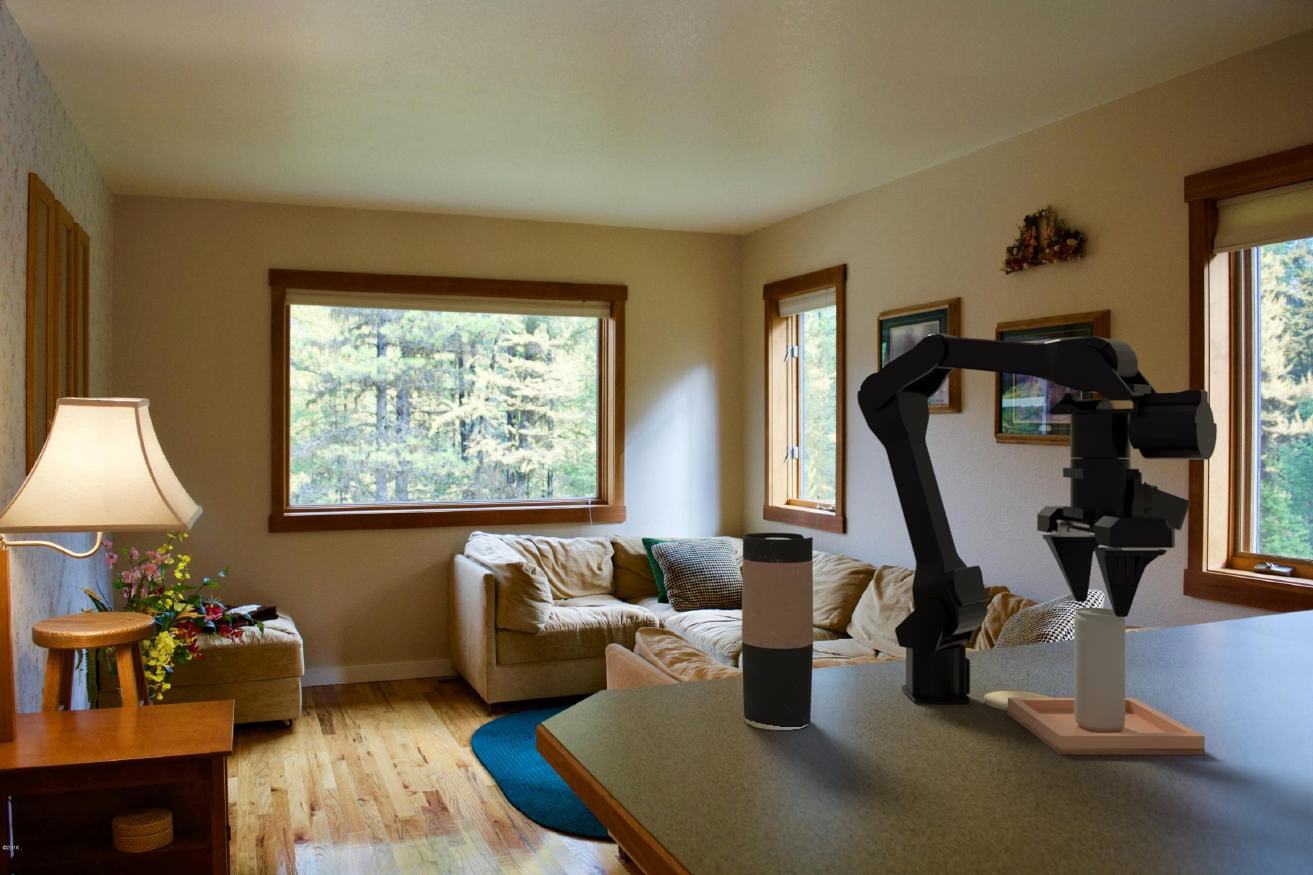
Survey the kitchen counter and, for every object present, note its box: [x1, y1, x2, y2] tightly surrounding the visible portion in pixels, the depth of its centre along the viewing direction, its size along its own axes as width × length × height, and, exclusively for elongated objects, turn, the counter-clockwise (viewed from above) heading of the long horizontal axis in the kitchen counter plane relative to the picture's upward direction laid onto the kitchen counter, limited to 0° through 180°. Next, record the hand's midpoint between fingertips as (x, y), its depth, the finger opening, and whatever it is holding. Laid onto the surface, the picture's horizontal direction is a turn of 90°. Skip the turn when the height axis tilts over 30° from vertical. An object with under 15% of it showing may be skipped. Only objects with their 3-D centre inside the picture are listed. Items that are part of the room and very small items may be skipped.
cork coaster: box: [983, 690, 1052, 712], centre depth 113 cm, size 8×8×1 cm
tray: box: [1007, 697, 1206, 756], centre depth 102 cm, size 14×14×2 cm
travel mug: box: [741, 532, 814, 727], centre depth 106 cm, size 8×8×20 cm
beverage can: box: [1073, 607, 1126, 732], centre depth 102 cm, size 5×5×12 cm
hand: (1100, 608), depth 102 cm, fingers open, 9 cm apart
